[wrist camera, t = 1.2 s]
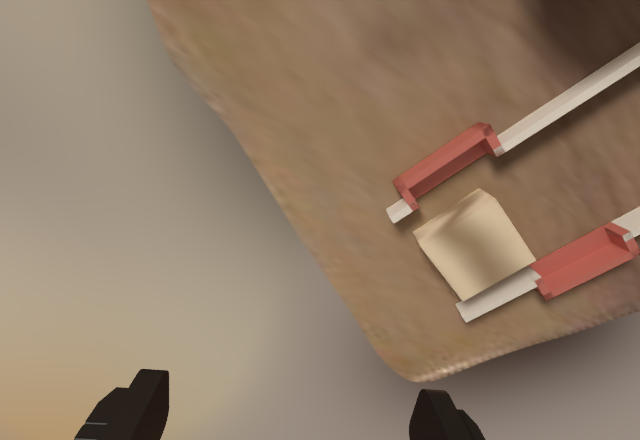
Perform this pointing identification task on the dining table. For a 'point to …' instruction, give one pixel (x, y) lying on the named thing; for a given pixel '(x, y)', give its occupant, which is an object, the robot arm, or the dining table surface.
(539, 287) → the trap lane
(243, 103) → the dining table surface
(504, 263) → the birch block
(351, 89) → the dining table surface
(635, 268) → the dining table surface
